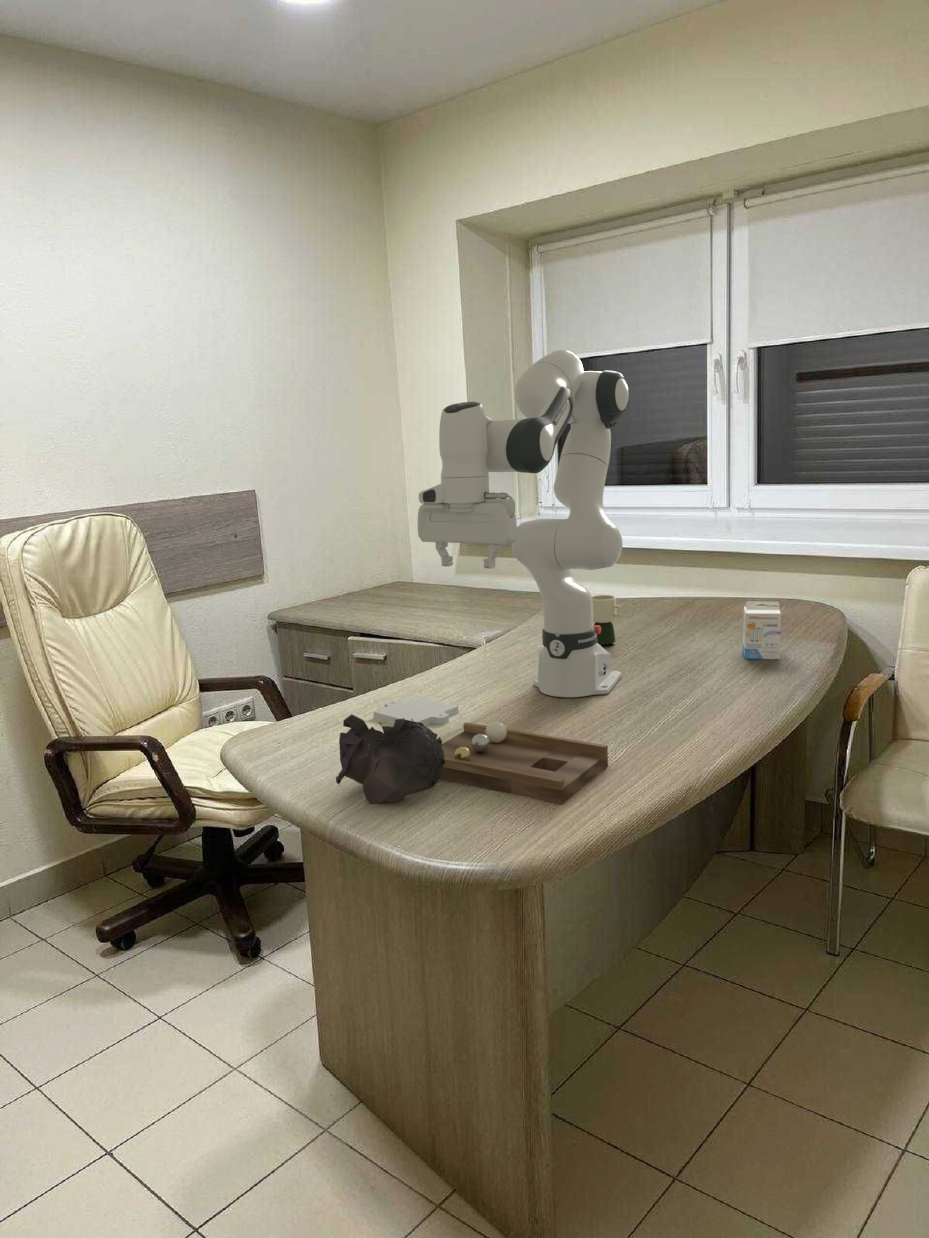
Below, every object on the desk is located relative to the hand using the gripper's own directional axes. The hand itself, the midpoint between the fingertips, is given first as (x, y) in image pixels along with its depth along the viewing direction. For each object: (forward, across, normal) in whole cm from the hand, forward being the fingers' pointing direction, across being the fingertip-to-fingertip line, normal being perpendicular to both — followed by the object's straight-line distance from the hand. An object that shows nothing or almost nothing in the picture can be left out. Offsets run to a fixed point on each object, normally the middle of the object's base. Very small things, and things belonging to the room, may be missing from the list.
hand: (468, 567), depth 170 cm
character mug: (+33, +9, -80) cm, 87 cm away
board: (+35, -13, +8) cm, 38 cm away
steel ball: (+31, -7, +8) cm, 33 cm away
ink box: (+32, -32, -84) cm, 95 cm away
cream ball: (+30, -7, +3) cm, 31 cm away
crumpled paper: (+36, -2, +27) cm, 45 cm away
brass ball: (+31, -7, +14) cm, 35 cm away
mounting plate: (+35, +21, -10) cm, 42 cm away
